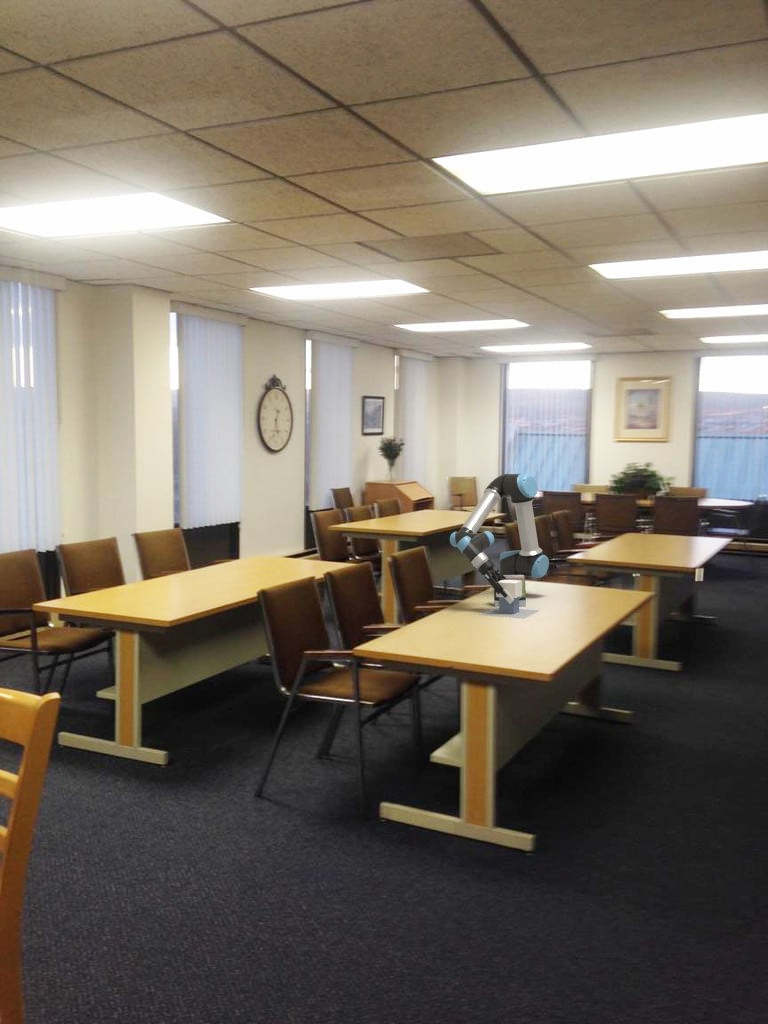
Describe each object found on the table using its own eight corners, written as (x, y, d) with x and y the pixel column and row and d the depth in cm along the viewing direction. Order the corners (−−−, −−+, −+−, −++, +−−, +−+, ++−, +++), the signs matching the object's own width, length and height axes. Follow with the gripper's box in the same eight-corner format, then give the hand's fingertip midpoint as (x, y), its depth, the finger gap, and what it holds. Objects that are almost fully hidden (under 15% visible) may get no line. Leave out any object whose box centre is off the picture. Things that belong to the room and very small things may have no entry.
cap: (503, 593, 400) (503, 579, 400) (522, 595, 396) (522, 580, 396) (496, 596, 392) (496, 582, 392) (515, 598, 388) (515, 583, 388)
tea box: (524, 604, 419) (524, 574, 418) (525, 608, 409) (525, 577, 408) (493, 604, 420) (493, 574, 420) (494, 607, 410) (494, 577, 410)
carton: (504, 610, 399) (504, 583, 399) (519, 611, 396) (519, 584, 395) (499, 613, 393) (499, 585, 392) (513, 614, 390) (513, 586, 389)
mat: (495, 608, 410) (495, 607, 410) (540, 611, 399) (540, 610, 399) (477, 615, 390) (477, 614, 390) (524, 619, 380) (524, 618, 380)
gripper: (486, 566, 410) (518, 601, 404) (468, 572, 391) (501, 609, 385) (497, 556, 408) (529, 591, 401) (479, 561, 388) (512, 598, 382)
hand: (515, 600), depth 393 cm, fingers closed on cap, 9 cm apart
